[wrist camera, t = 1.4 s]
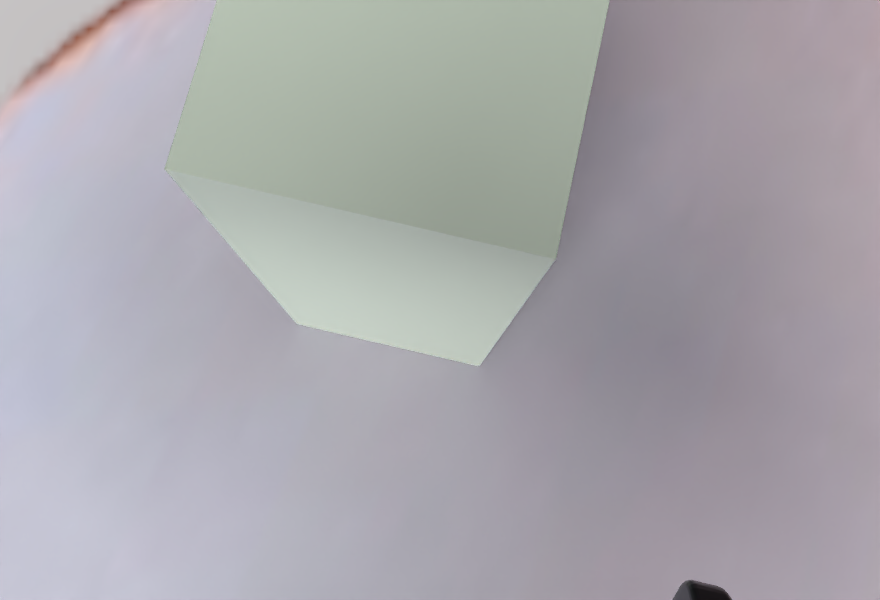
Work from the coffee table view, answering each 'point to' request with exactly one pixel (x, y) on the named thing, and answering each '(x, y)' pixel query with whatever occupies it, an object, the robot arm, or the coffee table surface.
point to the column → (391, 157)
